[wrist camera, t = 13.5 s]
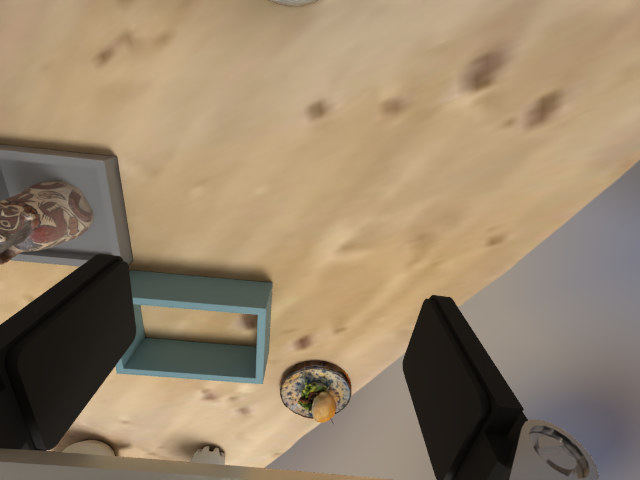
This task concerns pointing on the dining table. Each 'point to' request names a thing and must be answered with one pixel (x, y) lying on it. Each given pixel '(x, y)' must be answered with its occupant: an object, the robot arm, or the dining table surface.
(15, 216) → the figurine
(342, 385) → the burger
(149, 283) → the tub
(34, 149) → the tray
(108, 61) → the dining table surface
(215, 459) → the bottle
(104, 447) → the teacup
